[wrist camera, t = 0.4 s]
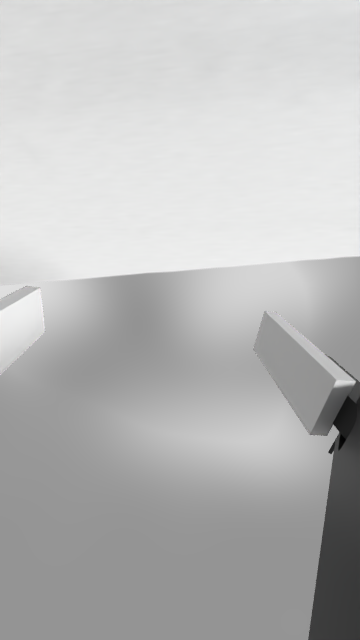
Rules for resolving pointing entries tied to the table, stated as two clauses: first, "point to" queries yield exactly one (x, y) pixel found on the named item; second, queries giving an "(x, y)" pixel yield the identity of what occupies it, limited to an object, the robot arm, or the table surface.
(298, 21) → the table surface
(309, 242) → the table surface
